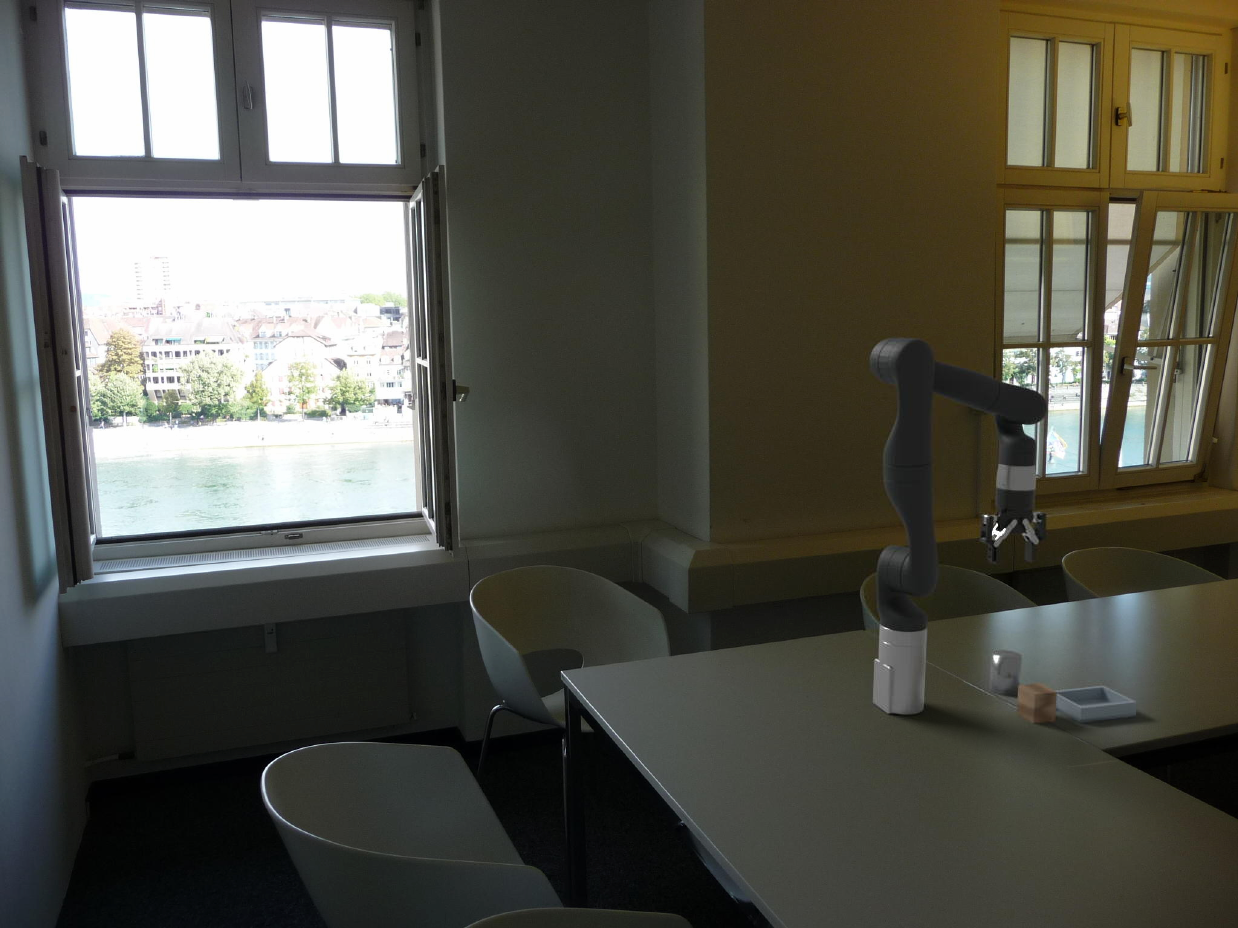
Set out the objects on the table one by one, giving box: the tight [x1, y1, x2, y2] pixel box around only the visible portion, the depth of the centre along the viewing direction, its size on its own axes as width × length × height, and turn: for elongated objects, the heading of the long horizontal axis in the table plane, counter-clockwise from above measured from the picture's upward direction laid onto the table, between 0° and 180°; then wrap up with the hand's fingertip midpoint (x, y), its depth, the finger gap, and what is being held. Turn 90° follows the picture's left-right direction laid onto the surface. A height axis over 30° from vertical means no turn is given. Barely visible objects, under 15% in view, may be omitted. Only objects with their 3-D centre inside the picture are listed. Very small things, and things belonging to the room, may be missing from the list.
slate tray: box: [1055, 685, 1138, 724], centre depth 192 cm, size 13×9×3 cm
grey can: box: [989, 649, 1023, 697], centre depth 203 cm, size 6×6×8 cm
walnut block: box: [1016, 682, 1057, 725], centre depth 189 cm, size 5×5×6 cm
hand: (1011, 562), depth 199 cm, fingers open, 8 cm apart
